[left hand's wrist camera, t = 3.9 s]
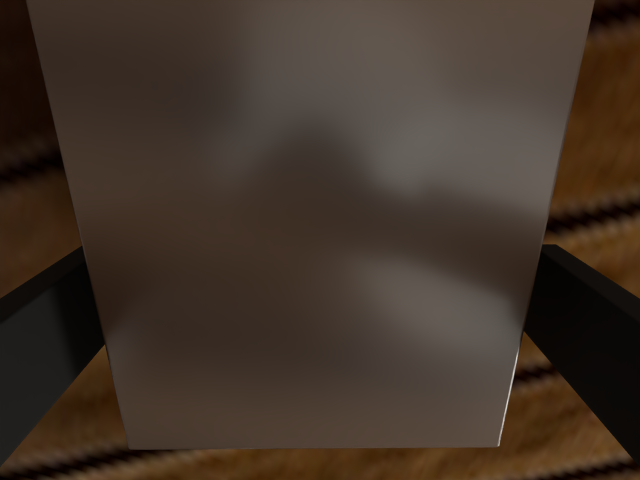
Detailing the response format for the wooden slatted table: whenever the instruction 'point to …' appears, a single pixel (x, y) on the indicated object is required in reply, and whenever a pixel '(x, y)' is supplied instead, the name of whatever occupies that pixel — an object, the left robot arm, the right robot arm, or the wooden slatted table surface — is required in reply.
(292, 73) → the cabinet
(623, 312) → the left robot arm
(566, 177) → the wooden slatted table surface
